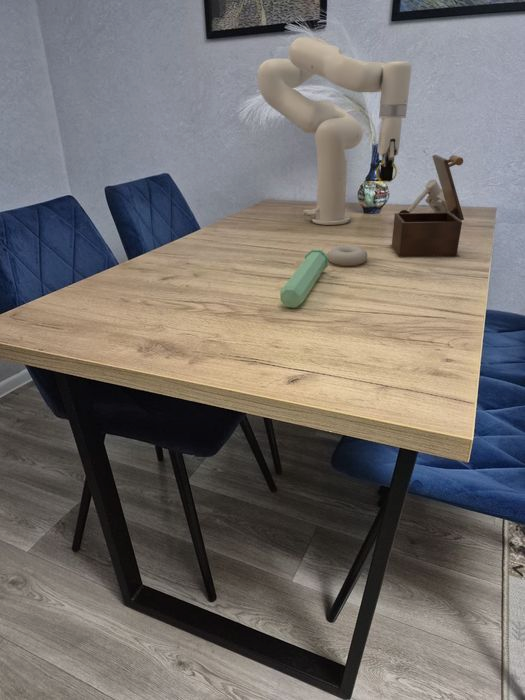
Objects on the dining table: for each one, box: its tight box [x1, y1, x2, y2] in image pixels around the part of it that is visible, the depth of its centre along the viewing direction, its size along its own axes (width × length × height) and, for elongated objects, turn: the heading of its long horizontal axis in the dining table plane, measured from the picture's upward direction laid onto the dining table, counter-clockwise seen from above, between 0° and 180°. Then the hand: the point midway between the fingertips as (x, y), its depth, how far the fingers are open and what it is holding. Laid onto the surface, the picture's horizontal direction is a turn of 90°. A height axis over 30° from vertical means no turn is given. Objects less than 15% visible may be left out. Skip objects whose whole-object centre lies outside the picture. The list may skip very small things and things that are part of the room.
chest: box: [391, 212, 463, 258], centre depth 125 cm, size 15×12×9 cm
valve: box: [398, 179, 453, 215], centre depth 158 cm, size 10×20×15 cm
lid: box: [431, 154, 465, 222], centre depth 119 cm, size 15×12×5 cm
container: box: [279, 248, 329, 309], centre depth 103 cm, size 6×6×25 cm
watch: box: [375, 161, 398, 183], centre depth 142 cm, size 6×3×6 cm, turn 68°
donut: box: [327, 244, 368, 267], centre depth 120 cm, size 10×4×10 cm
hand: (385, 179), depth 143 cm, fingers closed on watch, 2 cm apart
